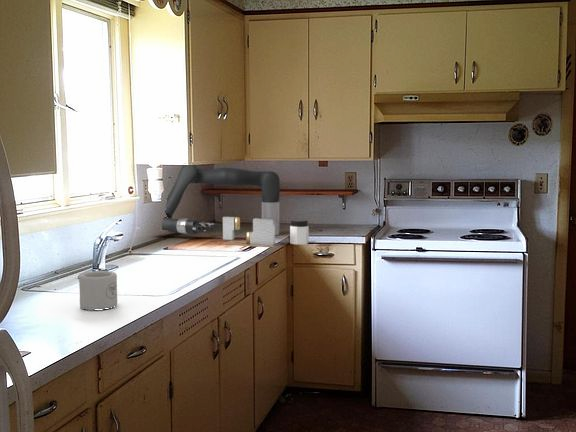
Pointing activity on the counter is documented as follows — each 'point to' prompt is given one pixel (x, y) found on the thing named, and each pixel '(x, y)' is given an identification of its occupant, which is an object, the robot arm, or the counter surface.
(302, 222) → the jar
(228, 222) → the brushed metal block
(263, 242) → the fixed leaf
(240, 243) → the jig board
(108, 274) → the mug
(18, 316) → the counter surface
